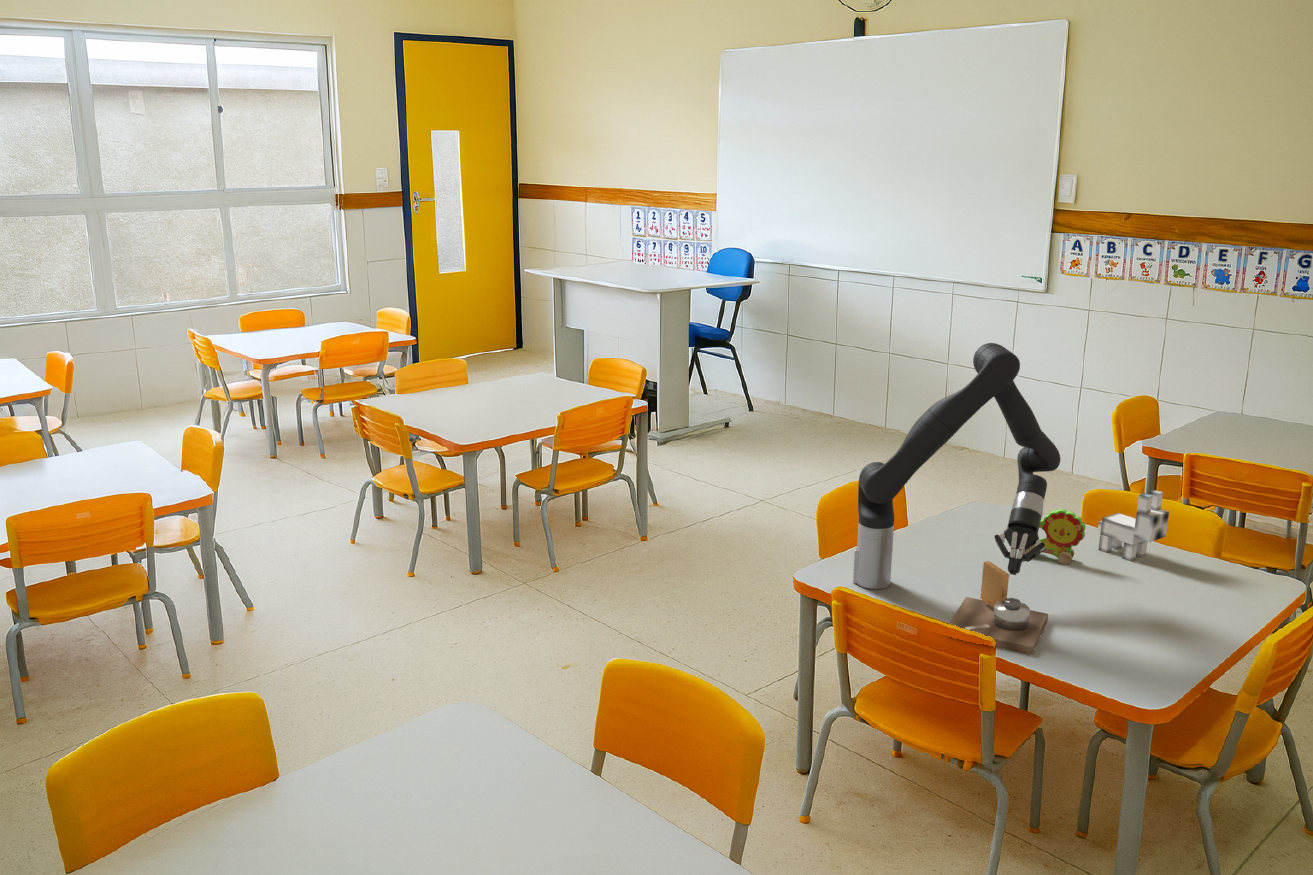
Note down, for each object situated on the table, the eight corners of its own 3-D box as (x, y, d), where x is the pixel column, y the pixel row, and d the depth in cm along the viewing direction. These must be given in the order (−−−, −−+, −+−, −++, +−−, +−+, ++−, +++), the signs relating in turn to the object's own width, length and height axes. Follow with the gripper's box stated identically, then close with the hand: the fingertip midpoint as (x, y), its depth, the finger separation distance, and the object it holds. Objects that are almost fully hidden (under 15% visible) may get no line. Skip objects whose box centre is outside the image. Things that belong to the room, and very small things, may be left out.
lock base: (945, 635, 238) (945, 626, 238) (965, 603, 255) (966, 595, 254) (1032, 655, 228) (1033, 646, 228) (1047, 621, 245) (1048, 612, 244)
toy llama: (1106, 542, 295) (1114, 478, 289) (1162, 561, 280) (1171, 494, 275) (1090, 547, 291) (1098, 482, 285) (1146, 567, 277) (1156, 499, 271)
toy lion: (1020, 556, 285) (1025, 506, 281) (1024, 550, 289) (1029, 501, 285) (1079, 567, 276) (1085, 516, 272) (1082, 561, 281) (1088, 511, 277)
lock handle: (1035, 627, 237) (1039, 585, 234) (1005, 631, 235) (1009, 589, 232) (996, 599, 252) (1000, 559, 249) (968, 603, 250) (972, 563, 247)
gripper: (998, 502, 257) (984, 562, 250) (1052, 510, 250) (1039, 572, 243) (1001, 515, 262) (987, 574, 256) (1054, 523, 256) (1041, 584, 249)
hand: (1012, 573), depth 249 cm, fingers closed
